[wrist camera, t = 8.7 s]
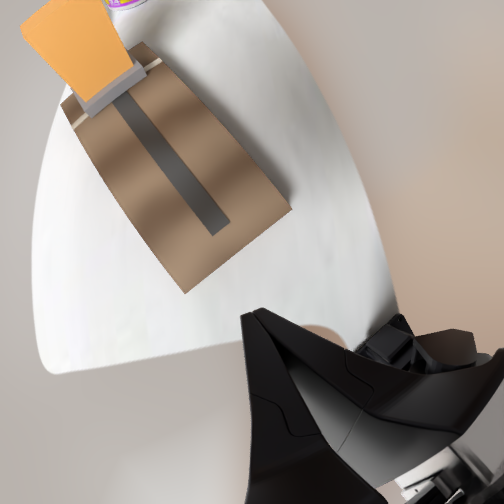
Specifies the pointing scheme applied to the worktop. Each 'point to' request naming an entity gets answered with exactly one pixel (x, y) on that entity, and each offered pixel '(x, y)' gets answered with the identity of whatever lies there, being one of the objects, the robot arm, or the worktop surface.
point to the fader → (83, 51)
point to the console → (177, 172)
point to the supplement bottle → (122, 4)
